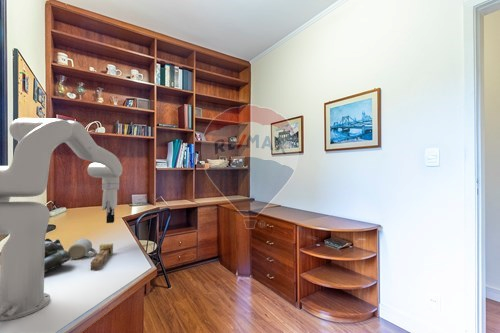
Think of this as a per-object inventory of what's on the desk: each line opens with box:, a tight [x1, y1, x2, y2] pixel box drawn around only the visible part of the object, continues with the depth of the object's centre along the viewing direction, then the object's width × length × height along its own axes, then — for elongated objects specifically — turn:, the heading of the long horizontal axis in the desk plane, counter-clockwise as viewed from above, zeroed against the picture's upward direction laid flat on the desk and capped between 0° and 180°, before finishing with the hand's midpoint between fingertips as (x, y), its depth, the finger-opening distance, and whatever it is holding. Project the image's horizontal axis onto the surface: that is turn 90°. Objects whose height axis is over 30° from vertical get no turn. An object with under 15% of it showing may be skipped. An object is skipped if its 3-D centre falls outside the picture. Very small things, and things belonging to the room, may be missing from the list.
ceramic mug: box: [67, 237, 98, 260], centre depth 111 cm, size 11×8×8 cm
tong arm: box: [94, 250, 110, 271], centre depth 103 cm, size 16×1×3 cm, turn 18°
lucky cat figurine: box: [44, 238, 72, 274], centre depth 95 cm, size 15×12×14 cm
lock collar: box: [98, 243, 114, 256], centre depth 113 cm, size 2×5×5 cm, turn 109°
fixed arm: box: [90, 249, 106, 271], centre depth 105 cm, size 18×2×3 cm, turn 19°
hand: (110, 222), depth 119 cm, fingers closed
